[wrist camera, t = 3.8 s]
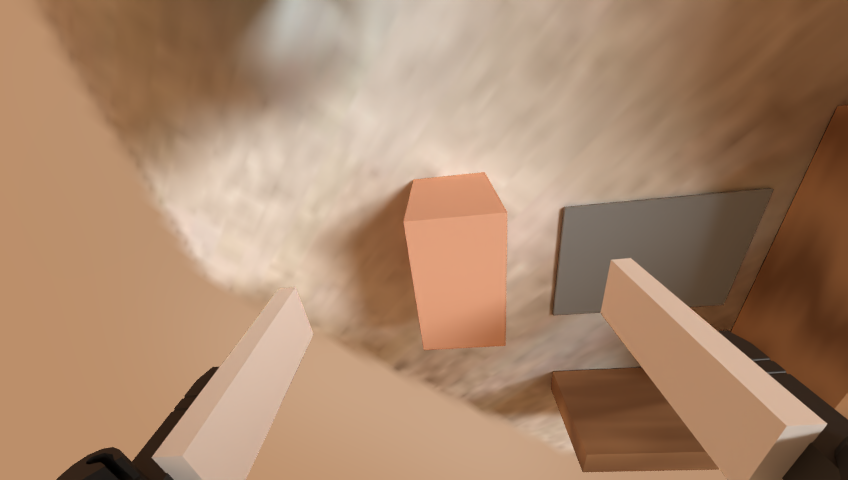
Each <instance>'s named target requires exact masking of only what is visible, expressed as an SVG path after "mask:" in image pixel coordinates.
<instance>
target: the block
mask: <svg viewBox="0 0 848 480" xmlns="http://www.w3.org/2000/svg"><path fill="white" fill-rule="evenodd" d="M404 228H405V235H406V241H407V247H408V254H409V260H410V266H411V273H412V279H413V285H414V291H415V298H416V304H417V310H418V317H419V323H420V329H421V336H422V342H423V348H424V350H434V349H453V348H471V347H489V346H505V341H506V265H507V211H506V209H505V208H504V206H503V204H502V202H501V200H500V199H499V197H498V195H497V193H496V192H495V190H494V188H493V186H492V184H491V183H490V181H489V179H488V177H487V176H486V174H485V172H482V173H472V174H462V175H453V176H443V177H433V178H424V179H414V180H413V184H412V188H411V192H410V196H409V201H408V205H407V209H406V213H405V217H404Z"/></svg>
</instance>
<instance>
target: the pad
mask: <svg viewBox="0 0 848 480" xmlns="http://www.w3.org/2000/svg"><path fill="white" fill-rule="evenodd" d="M773 190H774V189H771V188H767V189H756V190H745V191H734V192H723V193H712V194H701V195H690V196H679V197H668V198H657V199H646V200H635V201H624V202H613V203H602V204H591V205H580V206H569V207H564V211H563V220H562V230H561V239H560V249H559V258H558V267H557V277H556V286H555V296H554V305H553V315H568V314H584V313H600V312H601V308H602V303H603V298H604V293H605V287H606V282H607V277H608V272H609V267H610V262H611V260H613V259H625V258H631V259H633V260H634V261H635V262H636V263H637V264H638V265H640V266H641V267H642V268H643V269H644V270H646V271H647V272H648V273H649V274H650V275H651V276H653V277H654V278H655V279H656V280H657V281H659V282H660V283H661V284H662V285H663V286H665V287H666V288H667V289H668V290H669V291H670V292H672V293H673V294H674V295H675V296H676V297H678V298H679V299H680V300H681V301H682V302H683V303H685V304H686V305H687V306H688V307H697V306H713V305H724V303H725V301H726V298H727V296H728V294H729V291H730V289H731V287H732V284H733V282H734V280H735V278H736V275H737V273H738V271H739V268H740V266H741V264H742V261H743V259H744V257H745V254H746V252H747V250H748V248H749V245H750V243H751V241H752V238H753V236H754V234H755V231H756V229H757V227H758V225H759V222H760V220H761V218H762V215H763V213H764V211H765V208H766V206H767V204H768V202H769V199H770V197H771V195H772V192H773Z"/></svg>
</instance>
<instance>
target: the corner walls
mask: <svg viewBox="0 0 848 480" xmlns="http://www.w3.org/2000/svg"><path fill="white" fill-rule="evenodd" d="M731 332H732V333H733V334H735V335H737V336H739V337H741V338H743V339H745V340H747V341H749V342H750V343H752V344H753V345H754V346H756V347H757V348H758V349H759V350H761V351H762V352H763V353H764V354H766V355H767V356H768V357H769V358H770V360H771V361H775V362H776V363H777V364H778V365H780V366H781V367H782V368H783V369H785V370H786V373H787V374H791V375H792V376H793V377H795V378H796V379H797V380H799V381H800V382H801V383H802V384H804V385H805V386H806V387H807V388H809V389H810V390H811V391H812V392H814V393H815V394H816V395H817V396H819V397H820V398H821V399H823V400H824V401H825V402H826V403H828V404H829V405H830V406H831V407H833V408H834V409H835V410H836V411H838V412H839V413H840V414H841V415H843V416H844V417H845V418H847V419H848V105H841V106H837V108H836V110H835V113H834V115H833V117H832V119H831V121H830V123H829V125H828V127H827V130H826V132H825V134H824V136H823V138H822V140H821V142H820V144H819V146H818V149H817V151H816V153H815V155H814V157H813V159H812V161H811V163H810V165H809V168H808V170H807V172H806V174H805V176H804V178H803V180H802V182H801V185H800V187H799V189H798V191H797V193H796V195H795V197H794V199H793V201H792V204H791V206H790V208H789V210H788V212H787V214H786V216H785V218H784V220H783V223H782V225H781V227H780V229H779V231H778V233H777V235H776V237H775V240H774V242H773V244H772V246H771V248H770V250H769V252H768V254H767V256H766V259H765V261H764V263H763V265H762V267H761V269H760V271H759V273H758V275H757V278H756V280H755V282H754V284H753V286H752V288H751V290H750V292H749V295H748V297H747V299H746V301H745V303H744V305H743V307H742V309H741V311H740V314H739V316H738V318H737V320H736V322H735V324H734V326H733V328H732V330H731ZM551 390H552V392H553V395H554V398H555V400H556V403H557V406H558V408H559V411H560V414H561V416H562V419H563V421H564V424H565V427H566V429H567V432H568V435H569V437H570V440H571V442H572V445H573V448H574V450H575V453H576V456H577V458H578V461H579V464H580V466H581V468H582V471H583V472H612V471H661V470H662V471H664V470H716V469H719V468H718V467H717V465H716V464H715V463H714V461H713V460H712V459H711V457H710V456H709V455H708V453H707V452H706V451H705V450H704V448H703V447H702V446H701V444H700V443H699V442H698V440H697V439H696V438H695V436H694V435H693V434H692V432H691V431H690V430H689V429H688V427H687V426H686V425H685V423H684V422H683V421H682V419H681V418H680V417H679V415H678V414H677V413H676V411H675V410H674V409H673V408H672V406H671V405H670V404H669V402H668V401H667V400H666V398H665V397H664V396H663V394H662V393H661V392H660V390H659V389H658V388H657V387H656V385H655V384H654V383H653V381H652V380H651V379H650V377H649V376H648V375H647V373H646V372H645V371H644V369H643V368H642V367H641V368H619V369H598V370H576V371H555V372H553V375H552V383H551Z"/></svg>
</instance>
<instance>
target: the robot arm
mask: <svg viewBox="0 0 848 480" xmlns="http://www.w3.org/2000/svg"><path fill="white" fill-rule="evenodd" d="M601 314H602V316H603V317H604V318H605V320H606V321H607V322H608V323H609V325H610V326H611V327H612V329H613V330H614V331H615V333H616V334H617V335H618V337H619V338H620V339H621V341H622V342H623V343H624V344H625V346H626V347H627V348H628V350H629V351H630V352H631V354H632V355H633V356H634V358H635V359H636V360H637V362H638V363H639V364H640V365H641V367H642V368H643V369H644V371H645V372H646V373H647V375H648V376H649V377H650V379H651V380H652V381H653V383H654V384H655V385H656V387H657V388H658V389H659V390H660V392H661V393H662V394H663V396H664V397H665V398H666V400H667V401H668V402H669V404H670V405H671V406H672V408H673V409H674V410H675V411H676V413H677V414H678V415H679V417H680V418H681V419H682V421H683V422H684V423H685V425H686V426H687V427H688V429H689V430H690V431H691V432H692V434H693V435H694V436H695V438H696V439H697V440H698V442H699V443H700V444H701V446H702V447H703V448H704V450H705V451H706V452H707V453H708V455H709V456H710V457H711V459H712V460H713V461H714V463H715V464H716V465H717V467H718V468H719V469H720V471H721V472H722V473H723V474H724V476H725V477H726V478H727V480H848V419H847V418H845V417H844V416H843V415H841V414H840V413H839V412H838V411H836V410H835V409H834V408H833V407H831V406H830V405H829V404H828V403H826V402H825V401H824V400H823V399H821V398H820V397H819V396H817V395H816V394H815V393H814V392H812V391H811V390H810V389H809V388H807V387H806V386H805V385H804V384H802V383H801V382H800V381H799V380H797V379H796V378H795V377H793V376H792V375H791V374H787V373H786V370H785V369H783V368H782V367H781V366H780V365H778V364H777V363H776V362H775V361H771V360H770V358H769V357H768V356H767V355H766V354H764V353H763V352H762V351H761V350H759V349H758V348H757V347H756V346H754V345H753V344H752V343H750V342H749V341H747V340H745V339H743V338H741V337H739V336H737V335H735V334H733V333H732V332H730V331H728V330H727V331H717V330H715V329H714V328H713V327H712V326H711V325H710V324H708V323H707V322H706V321H705V320H704V319H702V318H701V317H700V316H699V315H698V314H697V313H695V312H694V311H693V310H692V309H691V308H689V307H688V306H687V305H686V304H685V303H683V302H682V301H681V300H680V299H679V298H678V297H676V296H675V295H674V294H673V293H672V292H670V291H669V290H668V289H667V288H666V287H665V286H663V285H662V284H661V283H660V282H659V281H657V280H656V279H655V278H654V277H653V276H651V275H650V274H649V273H648V272H647V271H646V270H644V269H643V268H642V267H641V266H640V265H638V264H637V263H636V262H635V261H634V260H633V259H631V258H625V259H613V260H611V262H610V267H609V272H608V277H607V282H606V287H605V293H604V298H603V303H602V308H601ZM313 335H314V334H313V332H312V329H311V326H310V324H309V321H308V318H307V316H306V313H305V310H304V308H303V305H302V302H301V300H300V297H299V294H298V292H297V289H296V287H289V288H279V289H278V290H277V291H276V293H275V294H274V295H273V297H272V298H271V299H270V301H269V302H268V303H267V305H266V306H265V307H264V309H263V310H262V311H261V313H260V314H259V315H258V317H257V318H256V319H255V321H254V322H253V323H252V325H251V326H250V327H249V329H248V330H247V331H246V333H245V334H244V335H243V336H242V338H241V339H240V341H239V342H238V343H237V345H236V346H235V347H234V348H233V350H232V351H231V352H230V354H229V355H228V356H227V358H226V359H225V361H224V362H223V363H222V365H221V366H220V367H212V368H211V369H210V370H209V371H207V372H206V373H205V374H204V375H203V376H201V377H200V378H199V379H198V380H197V381H196V382H195V383H194V384H193V386H192V387H191V389H189V391H188V392H187V393H186V395H185V398H184V399H182V400H181V401H180V402H179V403H178V405H177V406H176V407H175V408H174V409H175V410H174V412H171V413H170V415H169V416H168V417H167V418H166V420H165V421H164V422H163V424H162V425H161V426H160V427H159V428H158V430H157V431H156V432H155V434H154V435H153V436H152V437H151V439H150V440H149V441H148V442H147V444H146V445H145V446H144V448H143V449H142V450H141V451H140V452H139V454H138V455H137V456H136V457H135V459H134V460H133V461H132V462H131V461H130V460H129V459H128V458H127V457H126V456H125V455H124V454H123V453H122V452H121V451H120V450H119V449H116V448H114V447H112V448H105V449H101V450H99V451H96V452H94V453H92V454H90V455H87V456H86V457H84V458H83V459H81V460H80V461H78V462H77V463H75V464H74V465H72V466H71V467H70V468H69V469H68V470H66V471H65V472H64V473H63V474H62V475H61V476H60V477H58V478H57V480H245V479H246V478H247V475H248V473H249V471H250V469H251V467H252V465H253V463H254V461H255V458H256V456H257V454H258V452H259V450H260V448H261V446H262V443H263V441H264V439H265V437H266V435H267V433H268V431H269V429H270V426H271V424H272V422H273V420H274V418H275V416H276V414H277V412H278V409H279V407H280V405H281V403H282V401H283V399H284V397H285V394H286V392H287V390H288V388H289V386H290V384H291V381H292V380H293V377H294V375H295V373H296V371H297V369H298V367H299V365H300V362H301V360H302V358H303V356H304V354H305V352H306V350H307V348H308V345H309V343H310V341H311V339H312V337H313Z"/></svg>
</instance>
